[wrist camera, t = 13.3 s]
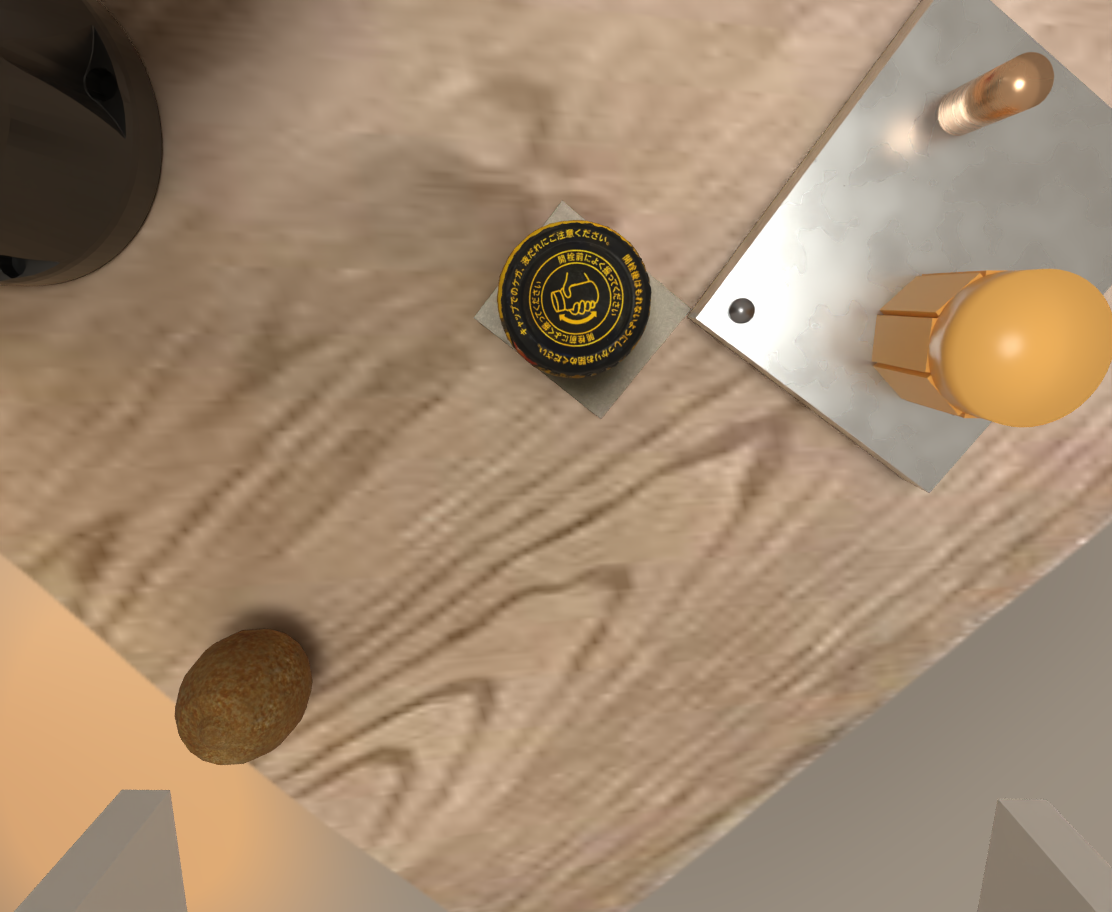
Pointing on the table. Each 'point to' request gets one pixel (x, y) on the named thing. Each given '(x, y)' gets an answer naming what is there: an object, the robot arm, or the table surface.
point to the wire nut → (996, 344)
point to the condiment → (581, 308)
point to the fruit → (243, 696)
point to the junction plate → (918, 219)
